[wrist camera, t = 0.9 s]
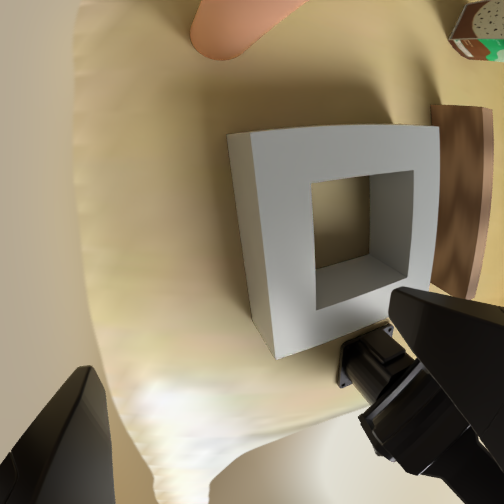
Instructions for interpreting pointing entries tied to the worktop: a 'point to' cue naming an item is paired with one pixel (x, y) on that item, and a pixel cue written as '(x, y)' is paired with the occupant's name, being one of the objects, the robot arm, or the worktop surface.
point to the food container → (480, 31)
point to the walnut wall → (462, 196)
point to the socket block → (302, 231)
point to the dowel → (235, 24)
